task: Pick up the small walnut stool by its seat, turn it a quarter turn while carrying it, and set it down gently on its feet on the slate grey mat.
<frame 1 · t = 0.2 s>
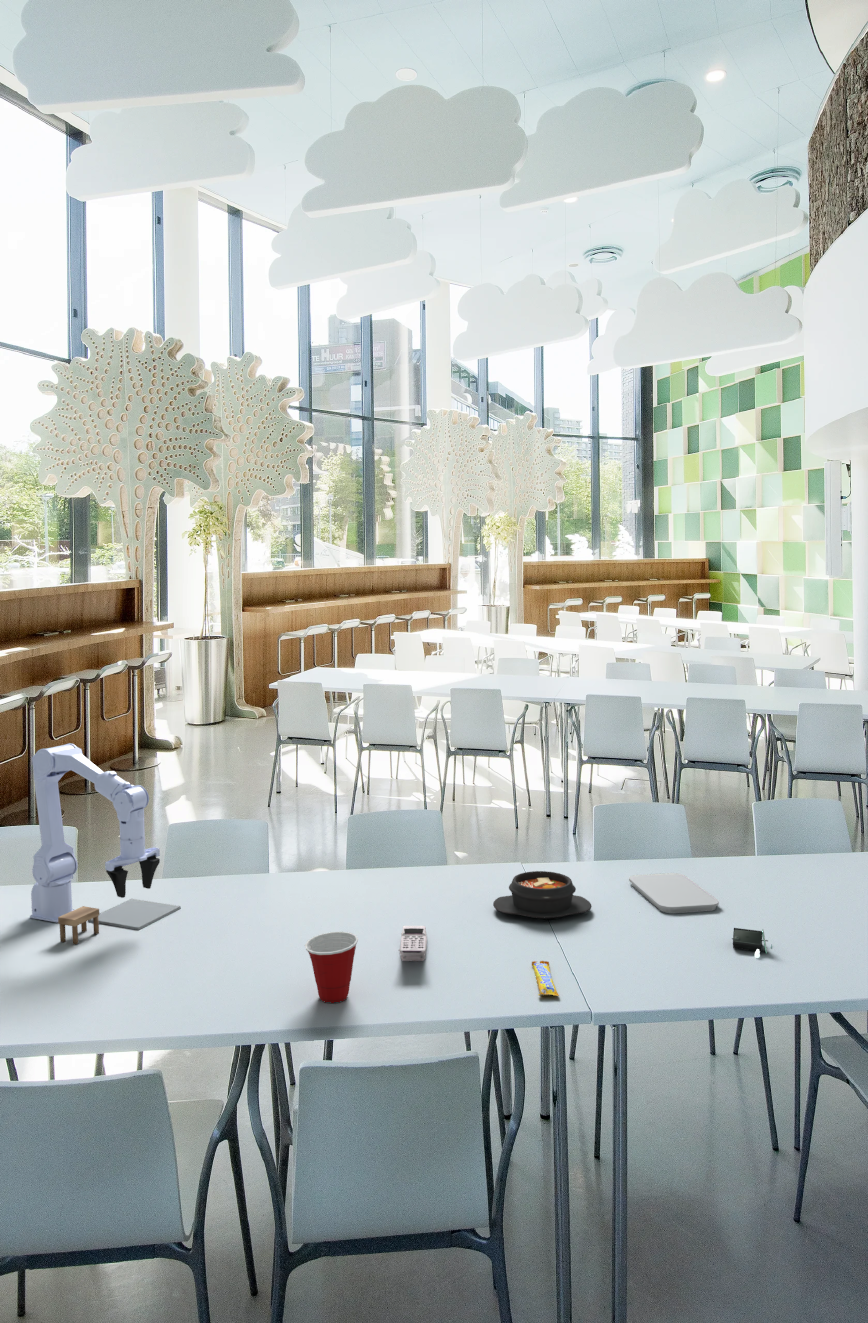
hand: (134, 892, 223), 10 cm above the table, tool pointing down, fingers open, 7 cm apart
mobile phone: (413, 954, 210), on the table
stool: (79, 937, 221), on the table
candy bar: (544, 984, 194), on the table
plastic cup: (332, 998, 187), on the table
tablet: (672, 898, 246), on the table
mat: (135, 914, 236), on the table
casserole: (542, 912, 235), on the table
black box: (746, 949, 212), on the table
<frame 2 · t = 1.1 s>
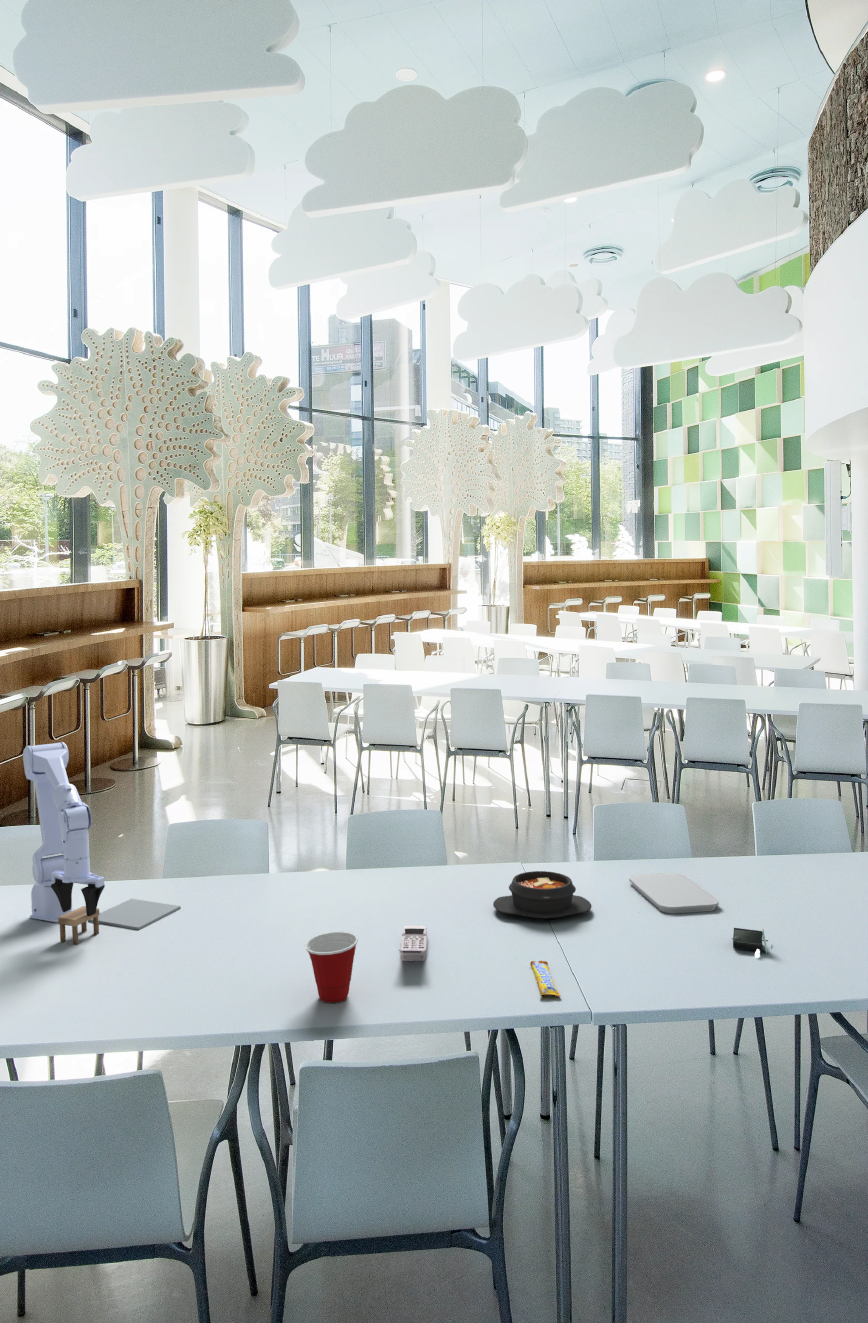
hand: (79, 912, 220), 6 cm above the table, tool pointing down, fingers open, 7 cm apart
nothing on the table moved.
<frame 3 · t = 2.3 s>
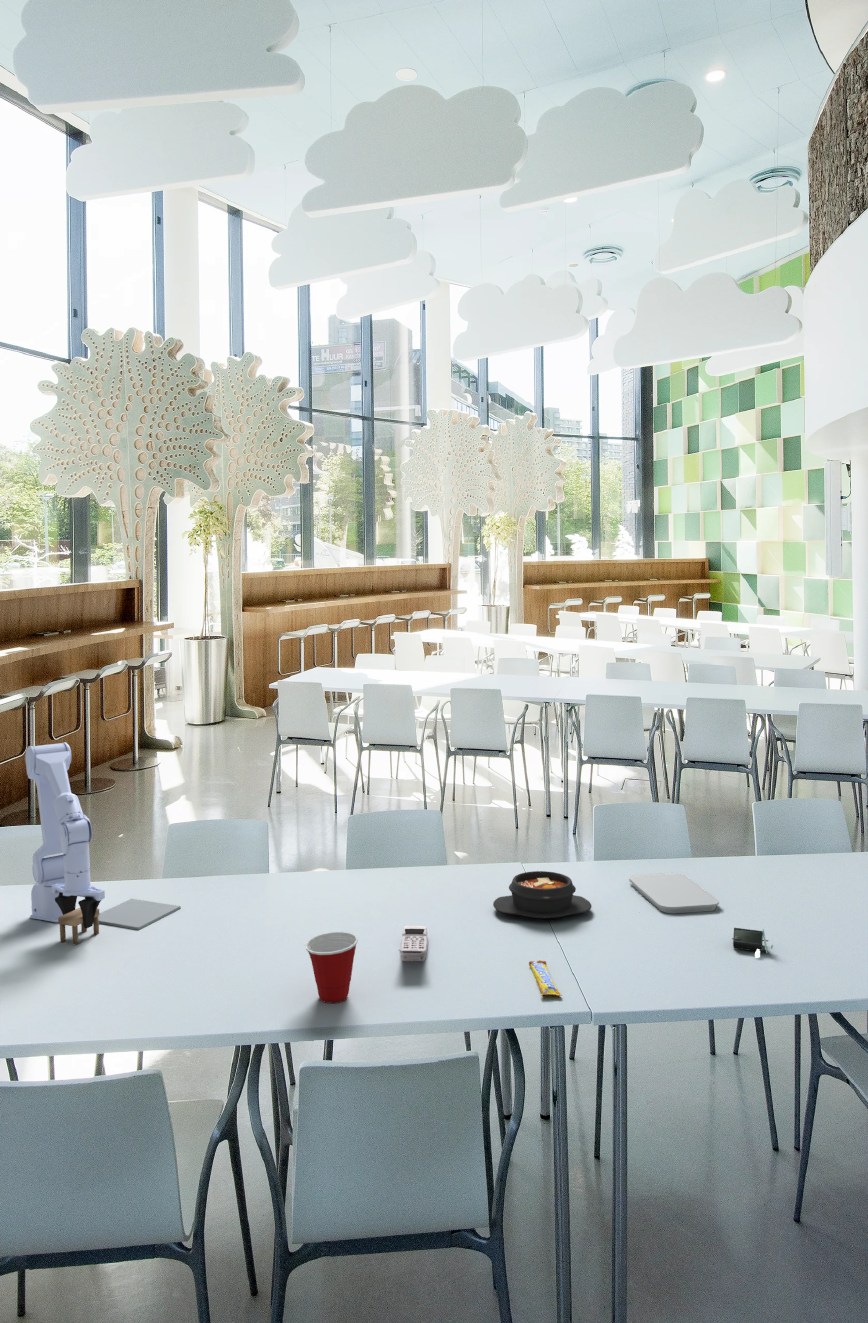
hand: (79, 925, 220), 3 cm above the table, tool pointing down, fingers closed on stool, 5 cm apart
stool: (79, 937, 221), on the table, touching gripper
everything else where it was.
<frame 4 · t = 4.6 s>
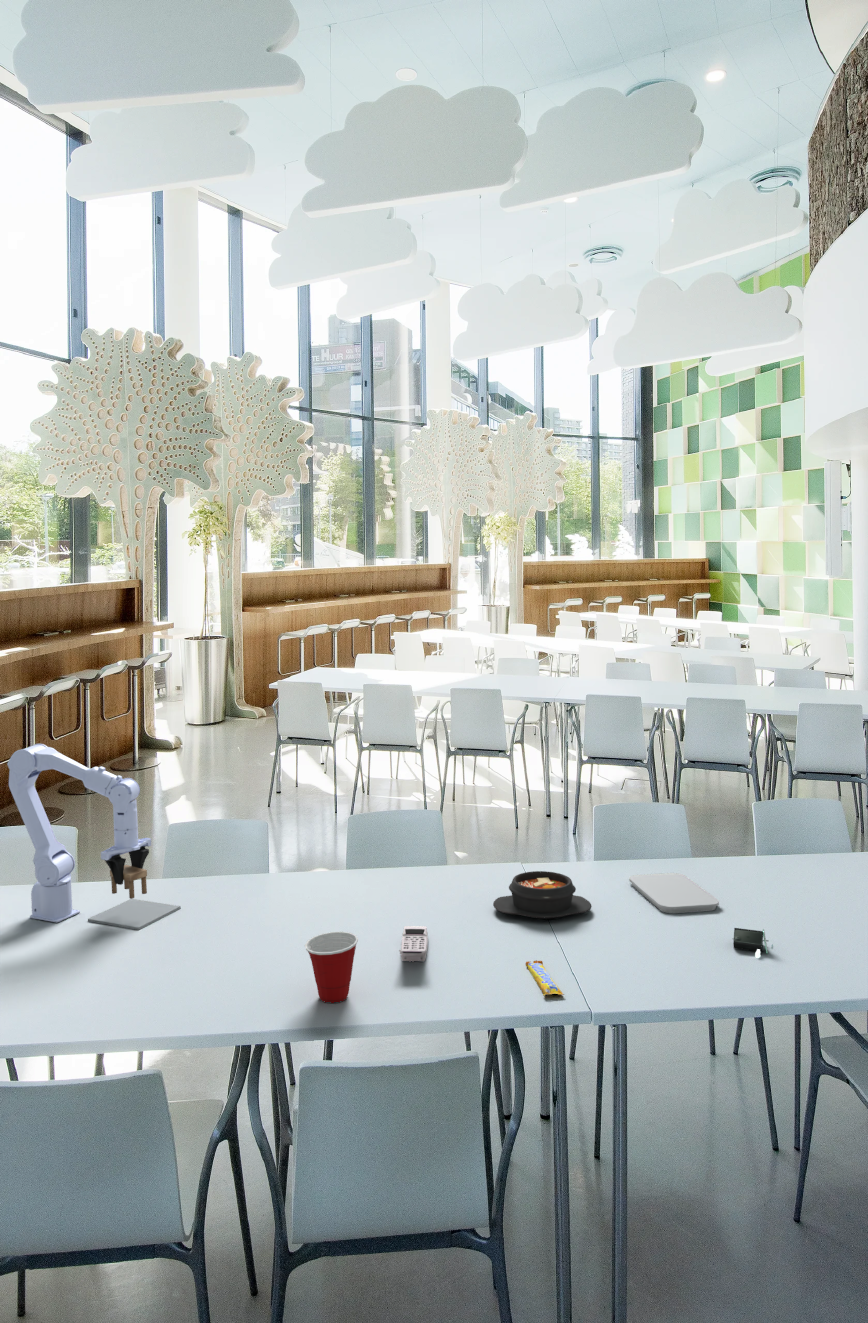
hand: (127, 880, 233), 9 cm above the table, tool pointing down, fingers closed on stool, 5 cm apart
stool: (129, 893, 233), point 6 cm above the table, touching gripper
everything else where it was.
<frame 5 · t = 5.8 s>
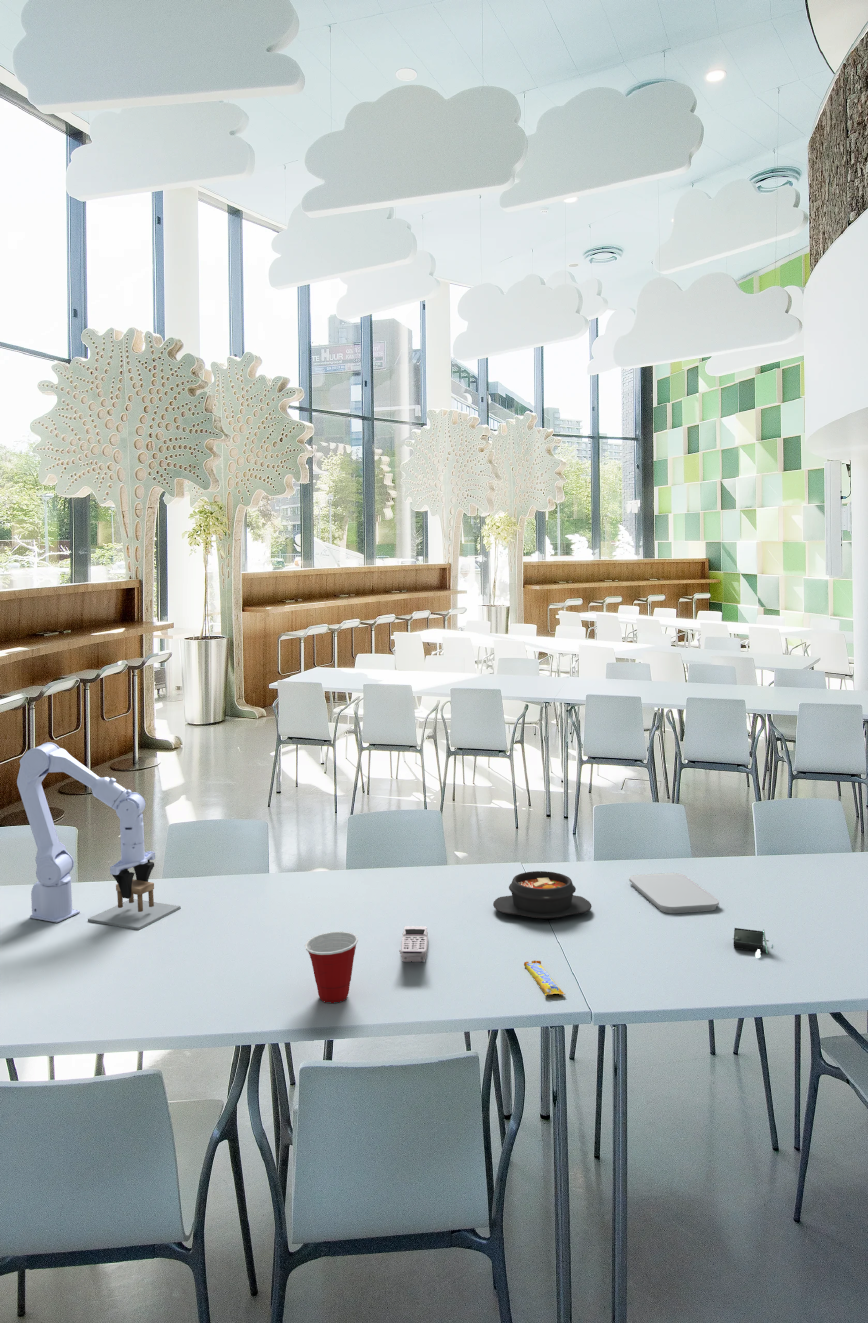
hand: (134, 894, 235), 5 cm above the table, tool pointing down, fingers closed on stool, 5 cm apart
stool: (135, 906, 235), point 2 cm above the table, touching gripper
everything else where it was.
when the fingers open (5 cm above the table, at t = 6.7 s): stool drops 2 cm, resting on mat.
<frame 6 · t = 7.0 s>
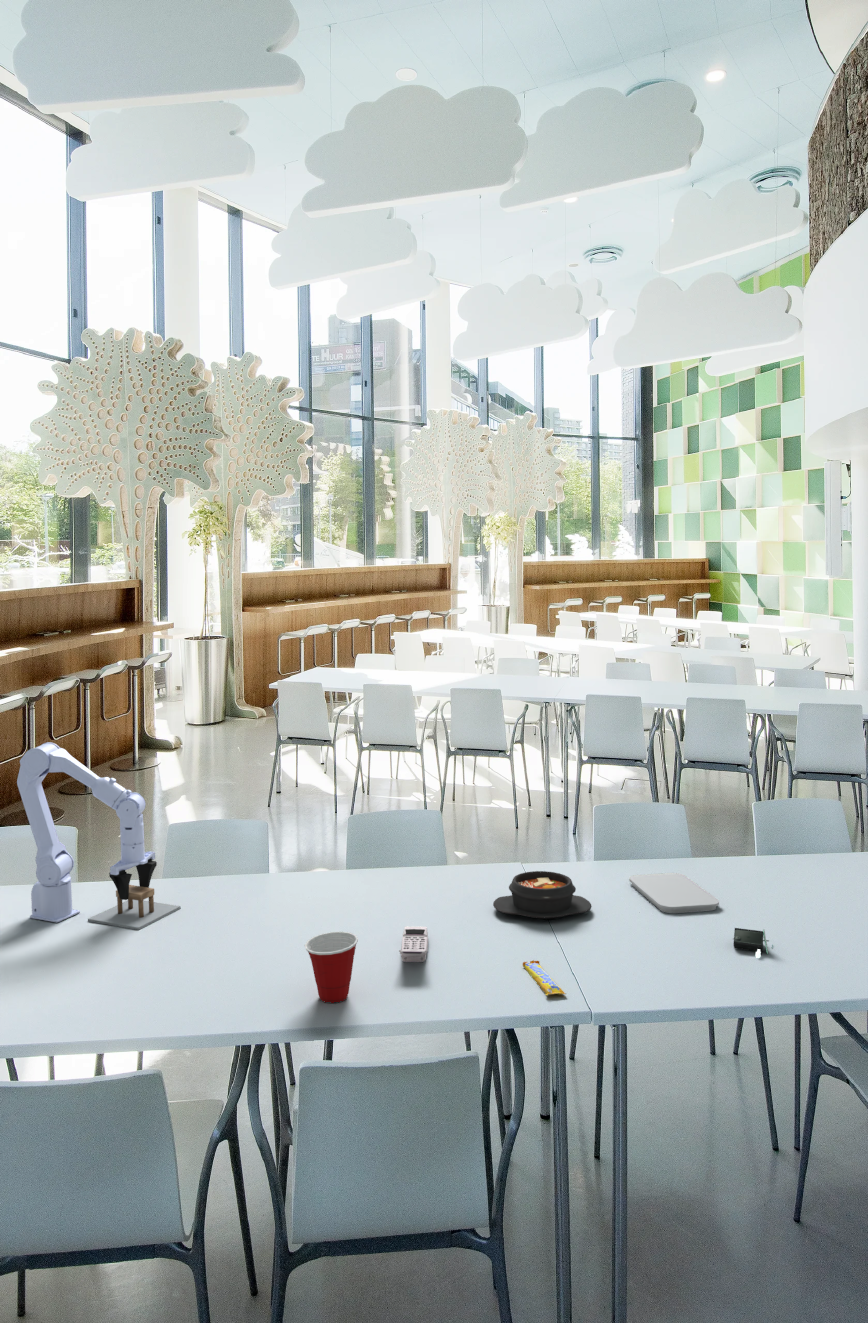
hand: (134, 894, 235), 5 cm above the table, tool pointing down, fingers open, 7 cm apart
stool: (135, 912, 235), point 1 cm above the table, touching mat
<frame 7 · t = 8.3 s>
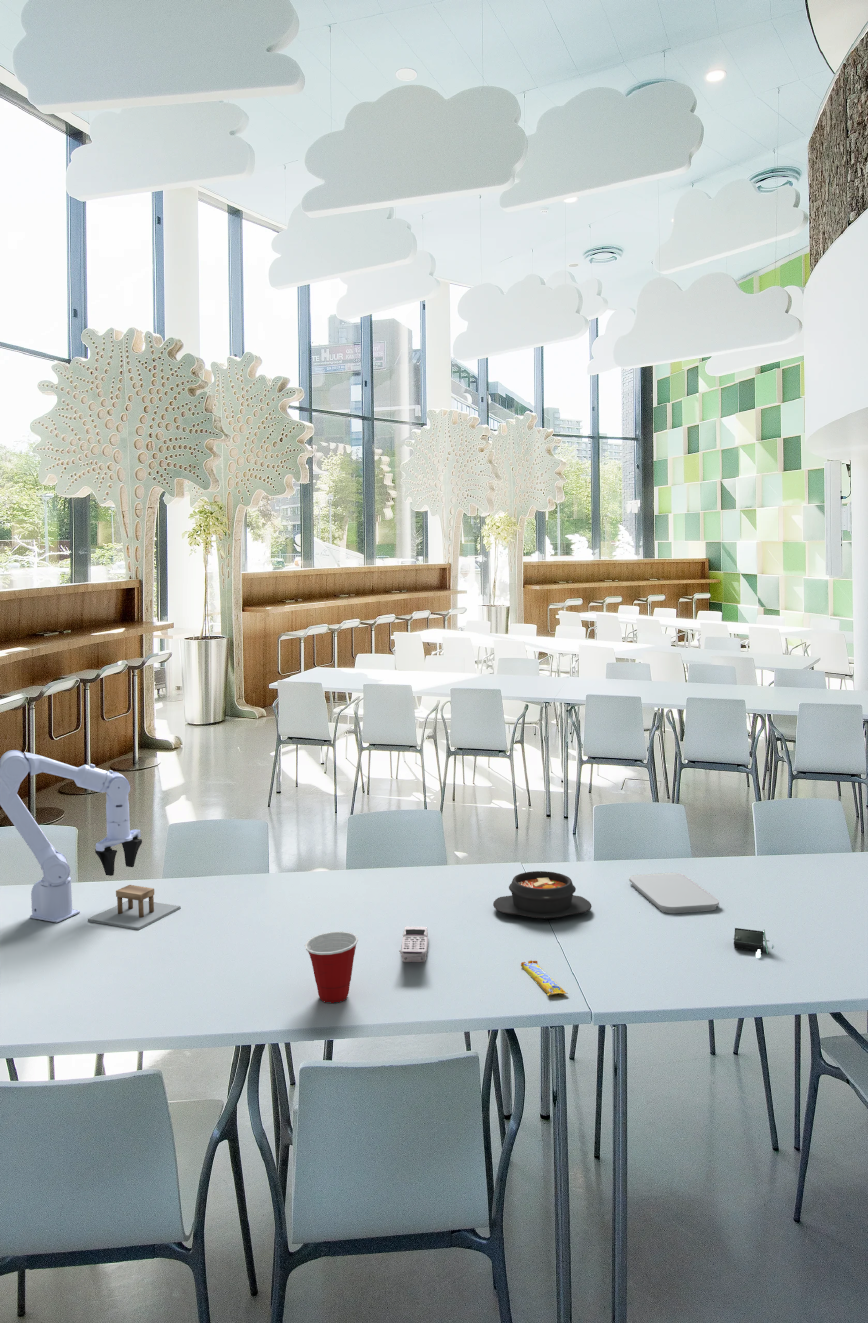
hand: (119, 870, 241), 9 cm above the table, tool pointing down, fingers open, 7 cm apart
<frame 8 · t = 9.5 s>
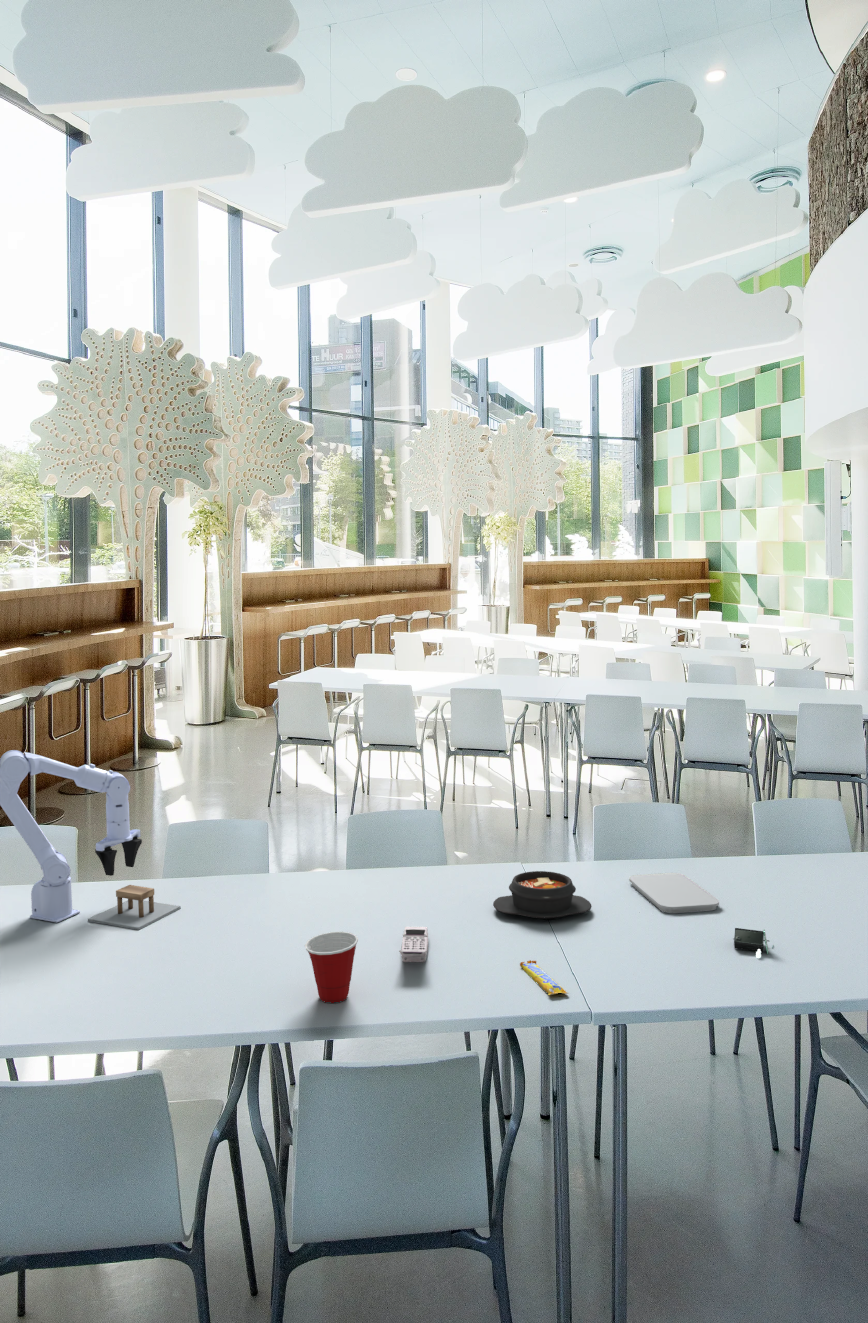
hand: (119, 870, 241), 9 cm above the table, tool pointing down, fingers open, 7 cm apart
at the end: stool inside the target area on the mat (0.3 cm from its centre), point 0.6 cm above the mat's base; stool tilted 0°; the gripper is holding nothing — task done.
